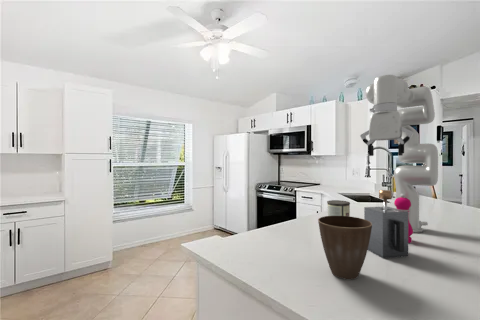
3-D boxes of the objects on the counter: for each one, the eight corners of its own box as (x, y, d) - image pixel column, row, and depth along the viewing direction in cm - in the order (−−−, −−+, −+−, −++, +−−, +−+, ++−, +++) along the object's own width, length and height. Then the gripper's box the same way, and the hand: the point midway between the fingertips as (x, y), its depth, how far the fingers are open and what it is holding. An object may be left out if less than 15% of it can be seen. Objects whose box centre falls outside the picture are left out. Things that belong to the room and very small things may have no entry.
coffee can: (329, 226, 127) (329, 199, 127) (351, 229, 122) (351, 201, 122) (324, 231, 119) (324, 202, 119) (348, 235, 113) (348, 204, 113)
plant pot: (345, 291, 65) (345, 230, 65) (308, 268, 78) (308, 217, 78) (384, 280, 71) (384, 224, 70) (343, 260, 84) (343, 213, 84)
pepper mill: (416, 244, 101) (416, 195, 101) (396, 242, 102) (396, 194, 102) (408, 238, 108) (408, 192, 108) (390, 237, 109) (389, 192, 109)
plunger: (386, 233, 96) (386, 189, 96) (401, 239, 89) (401, 191, 89) (370, 234, 95) (370, 189, 95) (383, 240, 88) (383, 191, 88)
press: (387, 246, 97) (387, 206, 98) (415, 259, 85) (414, 213, 85) (364, 248, 96) (364, 207, 96) (388, 261, 83) (388, 214, 83)
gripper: (357, 111, 95) (357, 156, 95) (411, 104, 83) (411, 155, 83) (363, 114, 101) (363, 156, 101) (415, 107, 89) (415, 155, 89)
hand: (385, 155), depth 92 cm, fingers open, 9 cm apart
